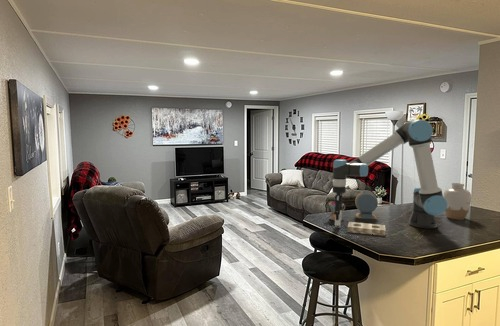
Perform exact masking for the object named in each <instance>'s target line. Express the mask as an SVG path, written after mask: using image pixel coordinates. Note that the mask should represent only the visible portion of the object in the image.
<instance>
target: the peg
mask: <svg viewBox="0 0 500 326" xmlns="http://www.w3.org/2000/svg"><path fill="white" fill-rule="evenodd" d="M341 223H342V220H341V211H340V226H339V225H335V224H334V227H335V228H336V229H341V226H342V225H341Z"/></svg>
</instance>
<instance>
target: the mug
mask: <svg viewBox="0 0 500 326" xmlns="http://www.w3.org/2000/svg"><path fill="white" fill-rule="evenodd" d="M328 205H329V208H330V215H329V217H328V219H330V220H331V221H334V222H335V214H334V213H335V201H331V202H329V203H328ZM342 208H343V210H342V213H343V212H344V211H345V209H346V205H345V204H344V202H342ZM341 221H343V215H342V216H341Z"/></svg>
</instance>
